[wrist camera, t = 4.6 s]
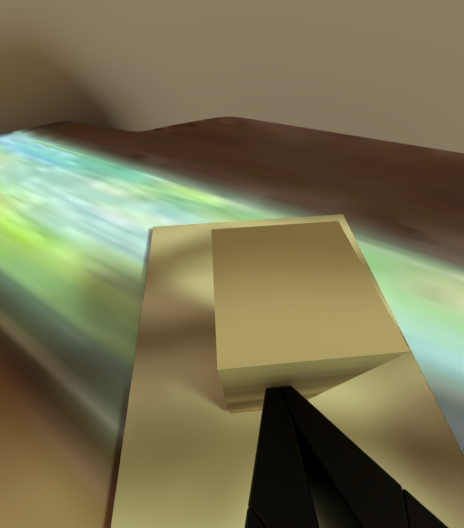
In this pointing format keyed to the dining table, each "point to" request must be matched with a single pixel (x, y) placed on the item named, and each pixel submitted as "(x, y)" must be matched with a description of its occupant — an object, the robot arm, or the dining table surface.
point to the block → (294, 312)
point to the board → (248, 423)
